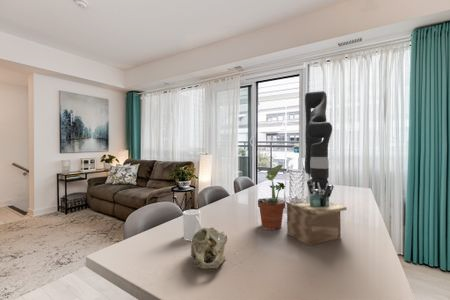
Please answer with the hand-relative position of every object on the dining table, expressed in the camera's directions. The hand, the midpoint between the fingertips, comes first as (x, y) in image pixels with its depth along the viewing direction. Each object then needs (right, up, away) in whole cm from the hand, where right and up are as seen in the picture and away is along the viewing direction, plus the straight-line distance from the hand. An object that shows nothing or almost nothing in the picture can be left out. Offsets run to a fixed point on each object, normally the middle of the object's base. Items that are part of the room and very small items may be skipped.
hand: (319, 205), depth 99 cm
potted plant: (-18, -16, +18) cm, 30 cm away
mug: (-57, -16, +3) cm, 59 cm away
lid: (0, -1, 0) cm, 1 cm away
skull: (-49, -17, -17) cm, 54 cm away
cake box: (-1, -15, +4) cm, 16 cm away
